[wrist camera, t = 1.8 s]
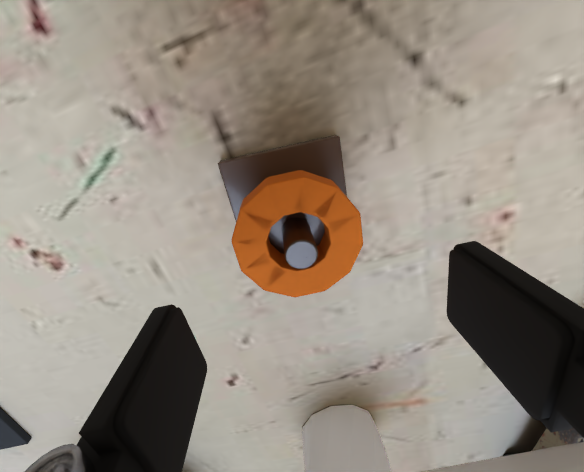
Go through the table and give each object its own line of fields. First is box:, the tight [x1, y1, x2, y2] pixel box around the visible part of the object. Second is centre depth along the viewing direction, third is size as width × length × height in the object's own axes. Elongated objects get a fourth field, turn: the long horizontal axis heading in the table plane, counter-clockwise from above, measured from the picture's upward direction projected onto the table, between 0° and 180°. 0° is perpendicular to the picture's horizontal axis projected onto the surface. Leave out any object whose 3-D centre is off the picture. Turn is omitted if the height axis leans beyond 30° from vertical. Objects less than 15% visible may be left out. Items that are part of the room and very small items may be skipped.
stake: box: [218, 135, 347, 269], centre depth 16 cm, size 8×8×8 cm
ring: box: [232, 170, 363, 297], centre depth 15 cm, size 7×7×2 cm
